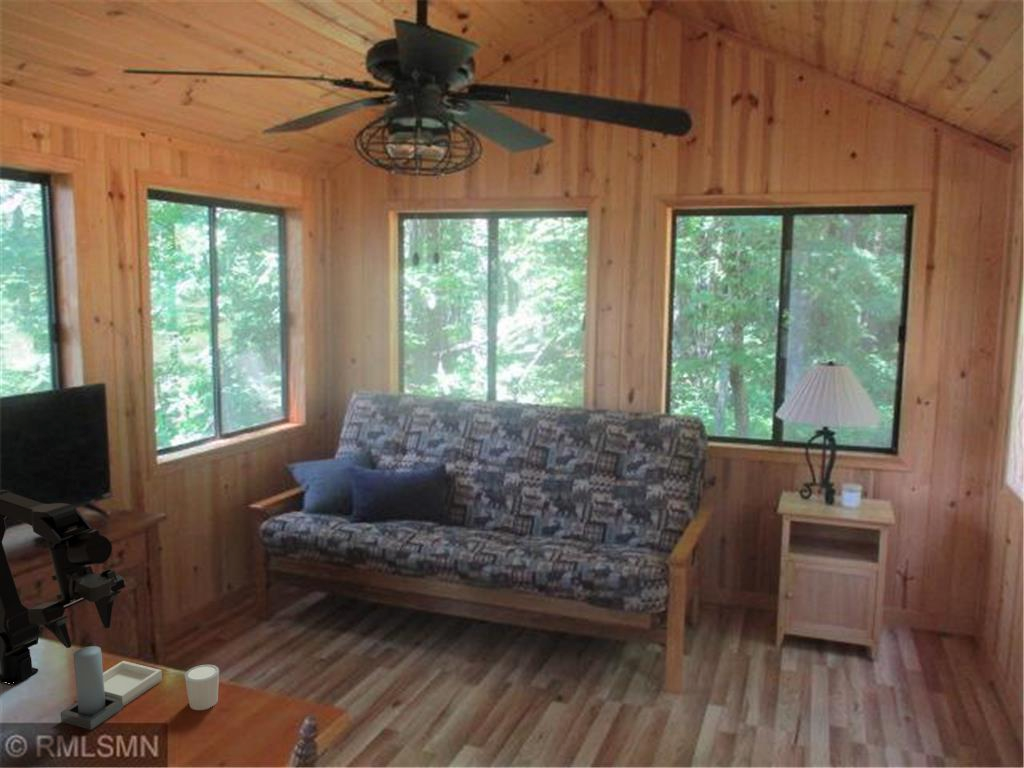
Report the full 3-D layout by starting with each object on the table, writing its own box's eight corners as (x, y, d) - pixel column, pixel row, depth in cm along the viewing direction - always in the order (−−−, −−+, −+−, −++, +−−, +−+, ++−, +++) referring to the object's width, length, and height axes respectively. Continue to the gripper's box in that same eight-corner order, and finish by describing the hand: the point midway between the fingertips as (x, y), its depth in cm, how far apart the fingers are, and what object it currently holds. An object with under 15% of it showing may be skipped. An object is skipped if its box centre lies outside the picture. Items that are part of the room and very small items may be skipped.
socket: (61, 721, 162) (60, 712, 162) (93, 700, 170) (93, 692, 169) (91, 730, 160) (90, 721, 159) (122, 708, 167) (122, 699, 167)
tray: (83, 695, 171) (82, 685, 171) (123, 670, 182) (123, 660, 181) (123, 706, 168) (122, 695, 167) (162, 680, 178) (161, 670, 177)
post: (73, 719, 163) (67, 655, 161) (93, 705, 168) (88, 644, 165) (91, 724, 162) (86, 660, 159) (111, 711, 166) (106, 648, 164)
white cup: (226, 694, 173) (224, 664, 172) (211, 713, 166) (209, 682, 165) (196, 692, 174) (194, 662, 172) (180, 710, 167) (178, 679, 166)
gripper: (53, 581, 153) (74, 657, 155) (134, 547, 170) (151, 617, 172) (17, 584, 158) (37, 658, 159) (98, 551, 175) (116, 619, 176)
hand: (88, 637), depth 167 cm, fingers open, 9 cm apart
